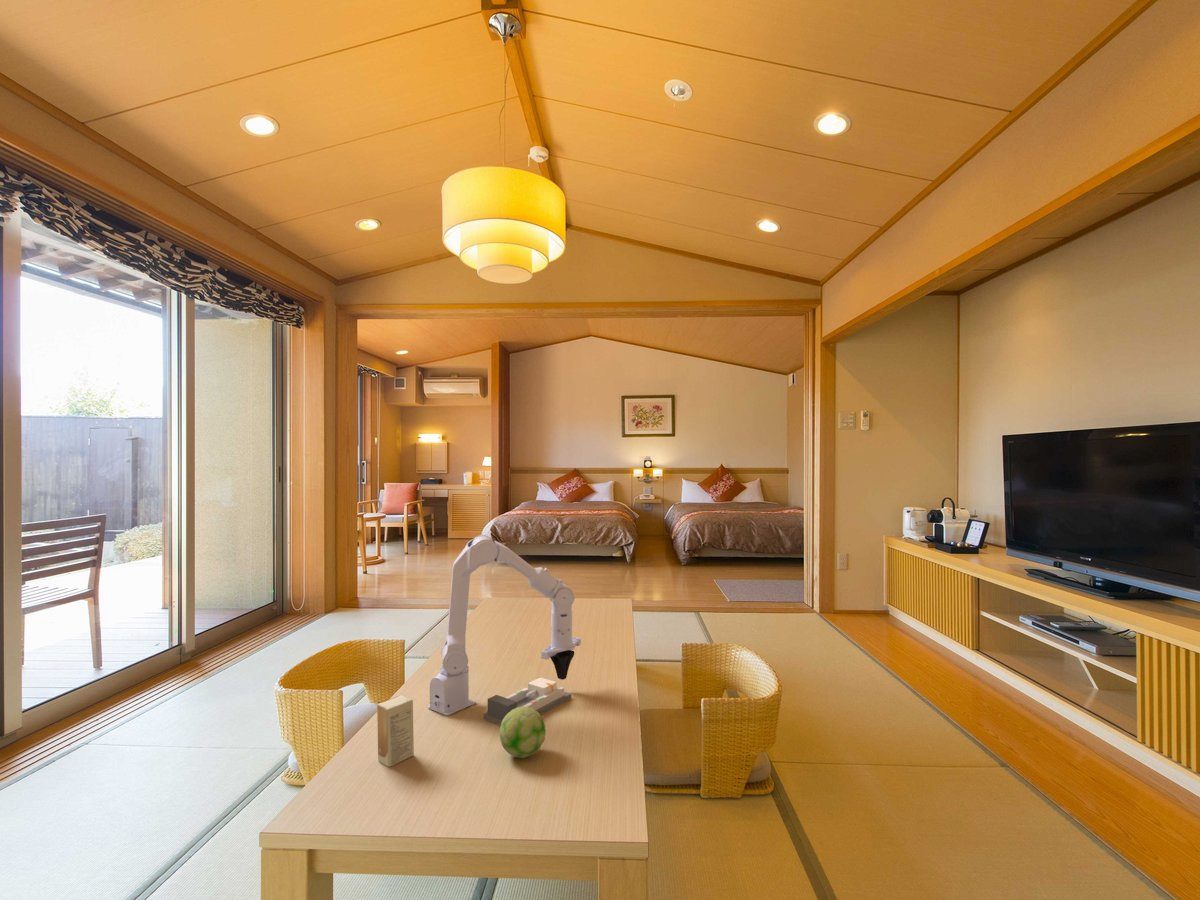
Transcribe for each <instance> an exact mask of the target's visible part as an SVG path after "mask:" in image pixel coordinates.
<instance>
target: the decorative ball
mask: <svg viewBox="0 0 1200 900" xmlns="http://www.w3.org/2000/svg"><path fill="white" fill-rule="evenodd" d="M499 727H500V728H499V740H500V744H501V746H502V747H503V749H504V750H505V751H506V752H507V753H508V754H509V755H510V756H511V757H514V758H518V759H521V758H523V759H524V758H525V759H526V758H529V757H531V756H533V755H535V754H536V753H537V752H538V751H539V750H540V748H541V747H542V746H543V744H544V742H545V739H546V723H545V721H544V719H543V717H542V714H541V715H540V714H539V713H538V712H537V711H535V710H534V709H533V708H529V707H518V708H515V709H513V710H511V711H510V712H509V713H508V714H507V715H506V716H505V717H504V719H503V720H502V723H501V725H500V726H499Z"/></svg>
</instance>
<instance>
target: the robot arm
mask: <svg viewBox="0 0 1200 900" xmlns="http://www.w3.org/2000/svg"><path fill="white" fill-rule="evenodd" d="M492 562H495V563H496V564H499V563H500V564H501V563H503V564H504V563H505V564H507V565H508V566H510V567H511V568H513V569H514V570H515V571H517V572H519V573H520V574H521V575H523V576H524V577H526V578H527V584H528V585H529V586H530V587H531V588H532V589H534V590H535V591H537V592H538V593H540V594H541V595H542V596H544V597H545V598H547V599H549V600H550V601H551V612H550V617H551V619H550V620H551V621H550V622H551V623H550V625H551V631H550V633H551V636H550V638H551V639H550V640H551V643H550V644H549V645H548V646H547V647H546V648H545V649H543V650H541V655H540V656H541V657H540V658H541V659H543V660H550V659H551V661H552V663H553V667H554V668H555V672H556V676H557V679H559V680H562V681H564V680H566V679H567V676H568V673H569V672H568V671H569V669H570V665H571V662H572V660H573V658H574V656H575V651H574V650H575V649H576V647H581V645H582V639H581V638H580V637H575V636H574V637H573V611H572V608H573V606H572V605H573V604H574V602H575V599H576V596H575V595H574V591H573V590H572V589H571V588H570V587H569V586H568V585H566V584H565V583H564V581H563V580H562V579H561V578H559V579H558V578H556V577H555V576H554V575H552V574H551V571H550V569H548V568H547V567H544V568H543V567H542V566H539V567H533V566H532V565H531V564H529V563H528V562H527V561H526V560H524V559H523V558H522V557H520V556H519V555H518V554H516V552H514V551H513V550H511V548H509V547H507V546H506V545H504V544H503V543H500V542H499V541H497V540H494V541H493V540H492V538H491V537H489V536H488V535H486V534H481V535H480V534H479V535H477V536H476V537H474V538H472V539H470V540H469V541H468V542H467V543H466V545H465V546H464V548H463V549H462V551H460V553H459V555H458V556H457V558H456V559H455V560H454V561H453V564H452V568H451V569H452V570H451V582H450V583H451V586H450V596H449V597H450V598H449V606H448V607H449V608H448V619H447V633H446V636H445V642H444V644H443V646H442V647H441V651H440V652H441V653H440V654H441V657H442V665H441V666H440V668H439V673H438V674H437V675H435V676H434V677H432V679H431V680H430V683H429V705H428V706H427V709H429V710H431V711H432V710H433V711H434V712H437V713H440V714H441V715H443V716H450V715H452V714H454V713H457V712H459V711H461V710H464V709H466V708H468V707H470V706H472V705H475V704H476V702H477V701H476V700H474V699H473V698H470V697H469V696H470V695H469V688H470V687H469V682H470V679H469V673H470V671H469V669H470V668H469V665H468V664H469V659H468V655H467V652H466V649H467V648H466V634H467V619H468V618H467V617H468V609H469V606H468V605H469V593H470V581H471V574H472V573H474V572H475V571H477V570H478V569H479V568H480V567H482V566H483V567H484V566H485V565H488V564H490V563H492Z"/></svg>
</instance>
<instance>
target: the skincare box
mask: <svg viewBox="0 0 1200 900" xmlns="http://www.w3.org/2000/svg"><path fill="white" fill-rule="evenodd" d="M413 701H414V699H413V698H410V697H409V696H407V695H406V696H405V695H403V694H401V695H398V696H395V697H393V698H391V699H387V700H385V701H382V702H380V703H379V702H378V703H377V705H376V706H377V707H376V708H377V710H376V711H377V712H376V713H377V714H376V715H377V762H379V763H381V764H382V765H384V766H385V767H387V768H389V767H393V766H394V765H398V764H399V763H400V762H403V761H405V760H406V759H409V758H411V757H413V756H414V755H415V748H414V747H415V746H414V744H415V743H414V742H415V741H414V702H413Z"/></svg>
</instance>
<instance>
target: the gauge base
mask: <svg viewBox="0 0 1200 900" xmlns="http://www.w3.org/2000/svg"><path fill="white" fill-rule="evenodd" d="M527 693H528V686H527V687H524V688H523V689H519V690H517V691H515V692H513V693H512V694H510V695H506V697H504V696H501V695H498V694H495V695H493V696H490V697H489V698H487V711H486V712H484V713H482V715H483V716H482V717H483V720H485V721H489V722H491V723H493V724H495V725H499V726H501V723H502V720H503V719H504V717H505V716H506V715H507V714H508V713H509V712H510V711H511V710H513V709H515V708H518V707H529V708H533V709H534V710H535V711H537V712H538V713H539V714H540V715H541V716H542V715H543V714H545V713H547V712H549V711H551V710H552V709H554V708H556V707H558V706H560V705H561V703H562V704H563V702H564V703H565V702H568V701H569V700H571V699H572V693H571V692H570V693H569V692H567V691H565V687H562V686H560V687H558V688H557V689H556V690H554V691H552V692H550V693H548V694H546V695H544V696H542V697H541V696H540V697H538V698H536V699H532V698H531V699H527V698H526V694H527ZM570 698H571V699H570ZM559 704H560V705H559ZM557 705H558V706H557ZM555 706H556V707H555ZM550 709H551V710H550ZM548 710H549V711H548ZM546 711H547V712H546ZM544 712H545V713H544ZM542 713H543V714H542Z"/></svg>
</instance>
